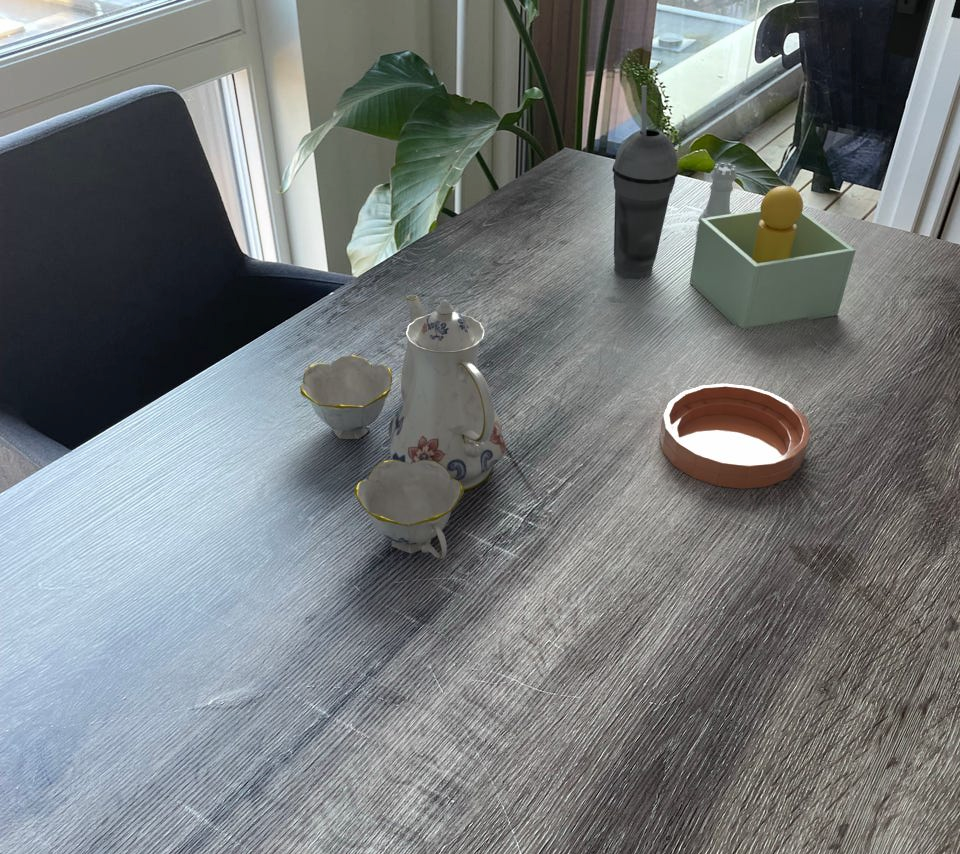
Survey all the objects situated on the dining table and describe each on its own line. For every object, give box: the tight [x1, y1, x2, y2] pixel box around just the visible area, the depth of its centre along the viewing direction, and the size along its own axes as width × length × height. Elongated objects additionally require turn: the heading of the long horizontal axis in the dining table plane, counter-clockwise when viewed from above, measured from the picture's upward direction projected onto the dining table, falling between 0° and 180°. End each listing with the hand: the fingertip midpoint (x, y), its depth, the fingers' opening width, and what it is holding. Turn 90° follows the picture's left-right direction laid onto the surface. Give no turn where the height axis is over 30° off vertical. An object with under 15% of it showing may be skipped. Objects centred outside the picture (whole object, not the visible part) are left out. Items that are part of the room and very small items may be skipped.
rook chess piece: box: [696, 162, 738, 231], centre depth 127 cm, size 4×4×8 cm
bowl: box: [659, 383, 811, 490], centre depth 96 cm, size 13×13×3 cm
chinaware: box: [299, 294, 507, 560], centre depth 89 cm, size 28×17×17 cm, turn 27°
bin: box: [689, 209, 856, 329], centre depth 115 cm, size 12×12×8 cm
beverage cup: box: [611, 84, 679, 279], centre depth 115 cm, size 7×7×20 cm
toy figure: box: [752, 185, 804, 264], centre depth 113 cm, size 4×4×12 cm
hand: (934, 36), depth 92 cm, fingers open, 13 cm apart
